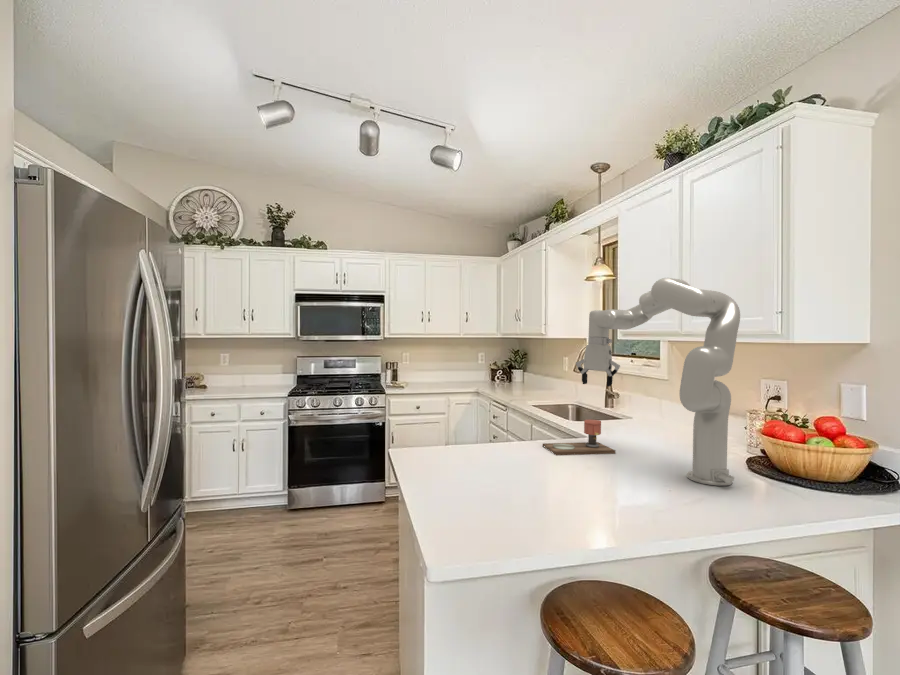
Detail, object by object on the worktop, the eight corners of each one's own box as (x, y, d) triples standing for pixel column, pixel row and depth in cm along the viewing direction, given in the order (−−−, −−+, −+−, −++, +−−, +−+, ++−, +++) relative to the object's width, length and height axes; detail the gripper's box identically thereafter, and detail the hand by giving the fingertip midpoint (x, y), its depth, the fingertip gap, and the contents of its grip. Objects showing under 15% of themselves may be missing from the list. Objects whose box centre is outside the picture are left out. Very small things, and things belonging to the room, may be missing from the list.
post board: (615, 453, 179) (615, 427, 179) (556, 455, 174) (556, 428, 174) (597, 445, 192) (598, 420, 192) (542, 446, 188) (543, 421, 188)
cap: (604, 435, 181) (605, 422, 181) (589, 435, 180) (589, 422, 180) (595, 431, 189) (595, 418, 189) (580, 431, 188) (580, 419, 188)
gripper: (623, 342, 181) (621, 386, 182) (580, 340, 192) (579, 382, 192) (617, 342, 175) (615, 388, 176) (573, 340, 186) (572, 383, 186)
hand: (596, 385), depth 184 cm, fingers open, 9 cm apart
